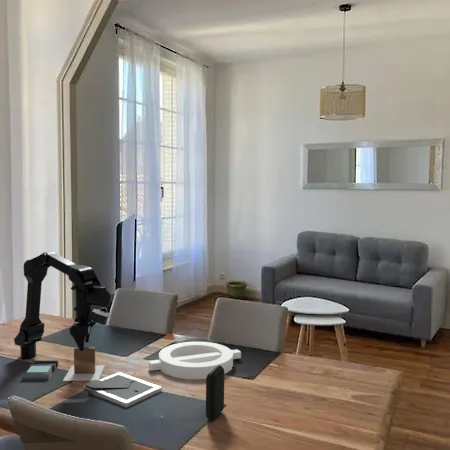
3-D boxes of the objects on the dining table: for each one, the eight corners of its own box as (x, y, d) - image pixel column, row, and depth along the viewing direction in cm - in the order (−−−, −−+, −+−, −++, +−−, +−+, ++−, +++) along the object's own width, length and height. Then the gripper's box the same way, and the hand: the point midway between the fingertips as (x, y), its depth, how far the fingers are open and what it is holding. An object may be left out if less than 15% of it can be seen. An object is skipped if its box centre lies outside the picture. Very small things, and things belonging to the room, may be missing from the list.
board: (72, 368, 190) (71, 365, 189) (105, 367, 190) (104, 365, 190) (62, 383, 176) (62, 380, 176) (98, 382, 177) (98, 380, 176)
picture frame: (83, 392, 170) (126, 409, 158) (83, 384, 170) (126, 400, 158) (119, 377, 183) (161, 392, 171) (119, 370, 183) (161, 384, 170)
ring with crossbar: (144, 372, 187) (144, 360, 187) (180, 349, 213) (180, 338, 213) (215, 385, 177) (215, 372, 176) (243, 359, 202) (243, 347, 202)
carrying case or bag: (217, 407, 159) (218, 361, 158) (226, 409, 158) (227, 362, 156) (204, 422, 149) (204, 373, 148) (213, 424, 148) (214, 375, 147)
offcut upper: (31, 368, 184) (31, 365, 183) (51, 368, 184) (51, 365, 184) (26, 375, 178) (26, 372, 177) (47, 374, 178) (47, 371, 178)
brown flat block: (75, 371, 184) (75, 347, 183) (95, 371, 184) (95, 347, 183) (74, 373, 182) (73, 349, 181) (94, 373, 182) (94, 348, 181)
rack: (33, 367, 190) (33, 359, 189) (58, 367, 190) (58, 359, 190) (21, 383, 175) (21, 375, 175) (48, 383, 176) (48, 374, 176)
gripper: (102, 309, 172) (103, 355, 173) (111, 296, 190) (111, 338, 192) (68, 310, 171) (69, 355, 172) (80, 297, 190) (81, 338, 191)
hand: (84, 346), depth 182 cm, fingers open, 9 cm apart
